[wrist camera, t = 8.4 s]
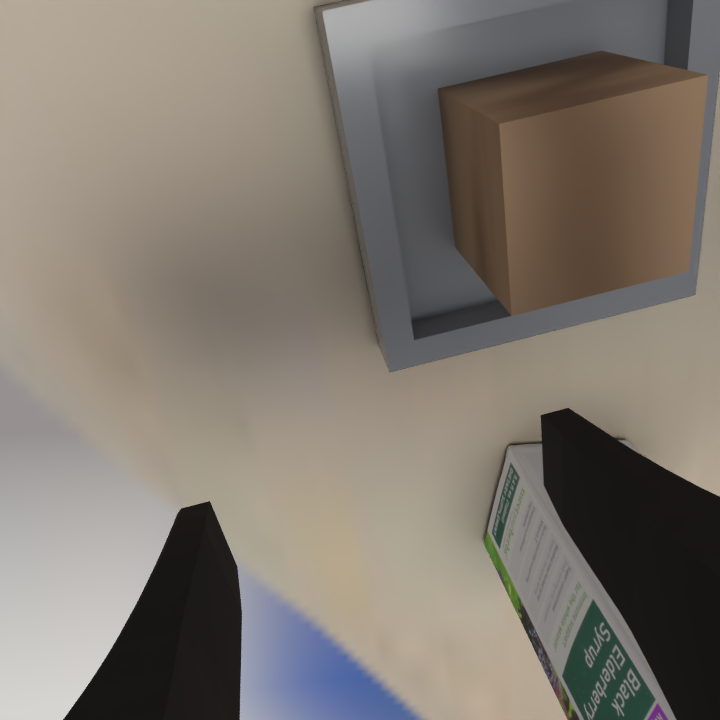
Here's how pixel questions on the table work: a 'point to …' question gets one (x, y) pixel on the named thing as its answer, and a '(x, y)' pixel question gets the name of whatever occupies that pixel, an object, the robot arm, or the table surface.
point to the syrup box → (566, 603)
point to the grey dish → (427, 155)
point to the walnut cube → (574, 176)
